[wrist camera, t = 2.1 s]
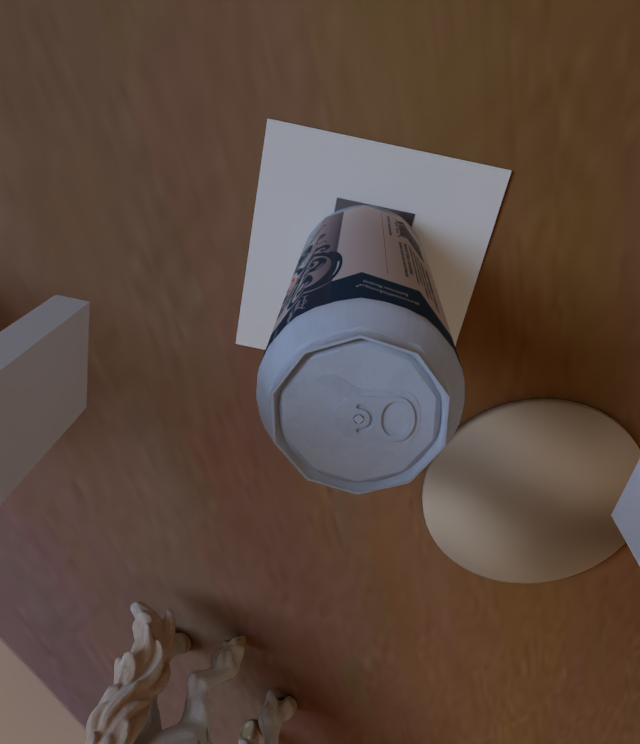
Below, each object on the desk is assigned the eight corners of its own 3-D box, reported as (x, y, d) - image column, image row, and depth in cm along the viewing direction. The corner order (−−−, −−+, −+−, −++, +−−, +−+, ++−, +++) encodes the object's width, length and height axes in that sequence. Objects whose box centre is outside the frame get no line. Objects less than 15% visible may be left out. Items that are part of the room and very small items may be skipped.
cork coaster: (456, 377, 26) (458, 383, 25) (684, 424, 26) (690, 431, 25) (398, 552, 30) (399, 561, 30) (593, 591, 30) (597, 600, 30)
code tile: (267, 118, 22) (267, 118, 22) (511, 170, 22) (511, 170, 22) (235, 342, 26) (235, 344, 26) (442, 385, 26) (442, 386, 26)
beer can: (300, 201, 23) (241, 313, 12) (428, 201, 23) (482, 317, 12) (303, 320, 25) (255, 505, 14) (420, 322, 25) (461, 513, 14)
